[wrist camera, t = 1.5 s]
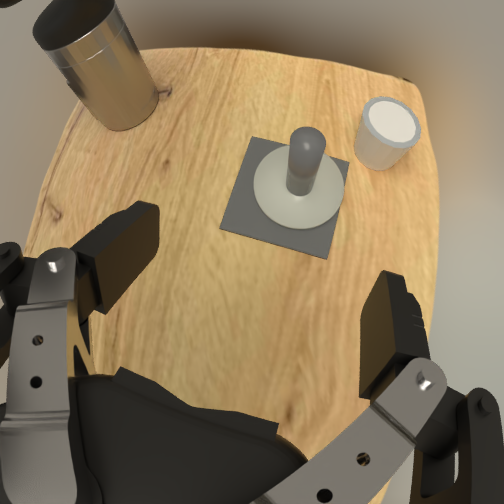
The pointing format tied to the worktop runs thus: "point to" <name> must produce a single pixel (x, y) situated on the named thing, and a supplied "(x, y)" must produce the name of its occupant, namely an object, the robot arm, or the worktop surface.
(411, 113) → the light grey cylinder
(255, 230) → the mat
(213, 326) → the worktop surface
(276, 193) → the peg on round base
